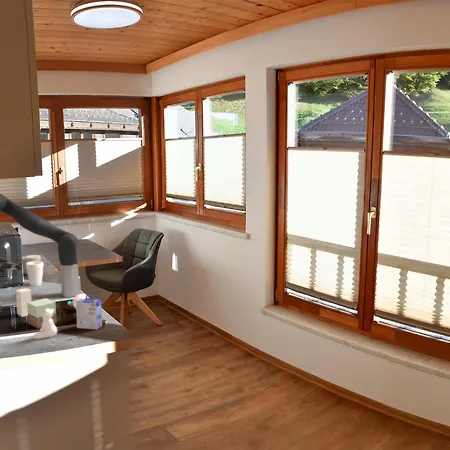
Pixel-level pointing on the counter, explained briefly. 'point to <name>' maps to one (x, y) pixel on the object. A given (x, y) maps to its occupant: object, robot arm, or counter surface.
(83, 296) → the perfume bottle
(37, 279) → the foam cup
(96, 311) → the ink cartridge box
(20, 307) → the cream block
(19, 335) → the counter surface
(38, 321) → the tower base slab
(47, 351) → the counter surface
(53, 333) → the white creature statuette
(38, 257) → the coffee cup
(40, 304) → the tower top slab
